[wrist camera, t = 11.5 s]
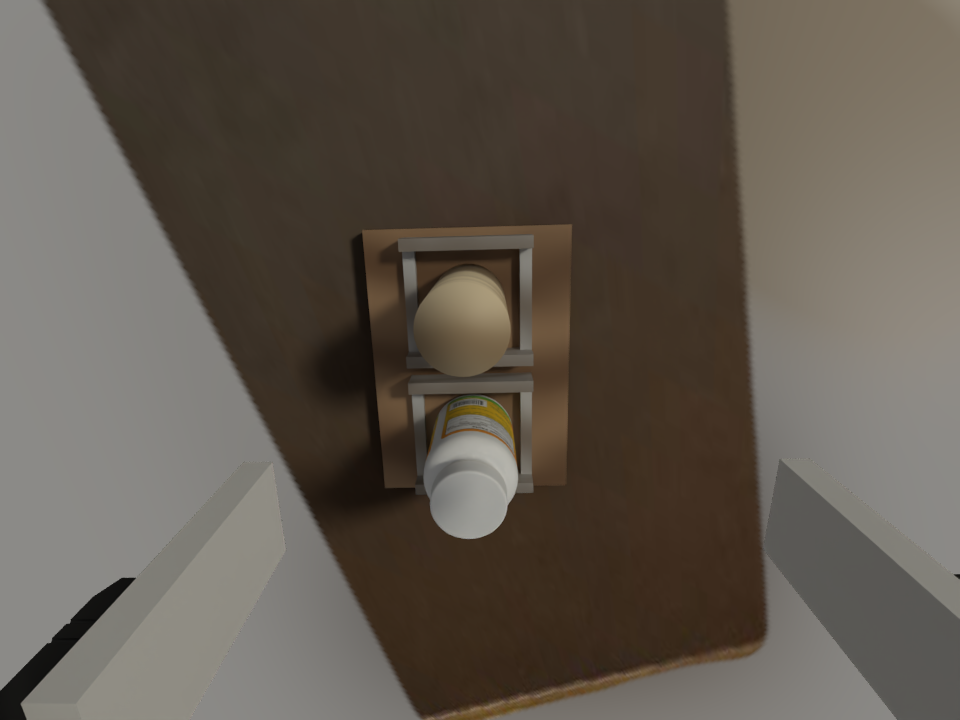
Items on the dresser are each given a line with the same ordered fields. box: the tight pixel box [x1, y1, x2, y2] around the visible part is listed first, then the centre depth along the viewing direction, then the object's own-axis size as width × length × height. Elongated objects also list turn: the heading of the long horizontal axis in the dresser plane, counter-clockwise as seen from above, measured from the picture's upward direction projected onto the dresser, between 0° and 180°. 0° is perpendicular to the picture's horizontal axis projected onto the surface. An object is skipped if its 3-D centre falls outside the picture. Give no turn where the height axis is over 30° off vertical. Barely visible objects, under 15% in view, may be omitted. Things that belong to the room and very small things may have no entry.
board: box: [362, 224, 572, 495], centre depth 34 cm, size 18×13×3 cm
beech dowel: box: [413, 263, 511, 377], centre depth 28 cm, size 5×5×9 cm
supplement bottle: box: [423, 394, 518, 539], centre depth 30 cm, size 5×5×10 cm
